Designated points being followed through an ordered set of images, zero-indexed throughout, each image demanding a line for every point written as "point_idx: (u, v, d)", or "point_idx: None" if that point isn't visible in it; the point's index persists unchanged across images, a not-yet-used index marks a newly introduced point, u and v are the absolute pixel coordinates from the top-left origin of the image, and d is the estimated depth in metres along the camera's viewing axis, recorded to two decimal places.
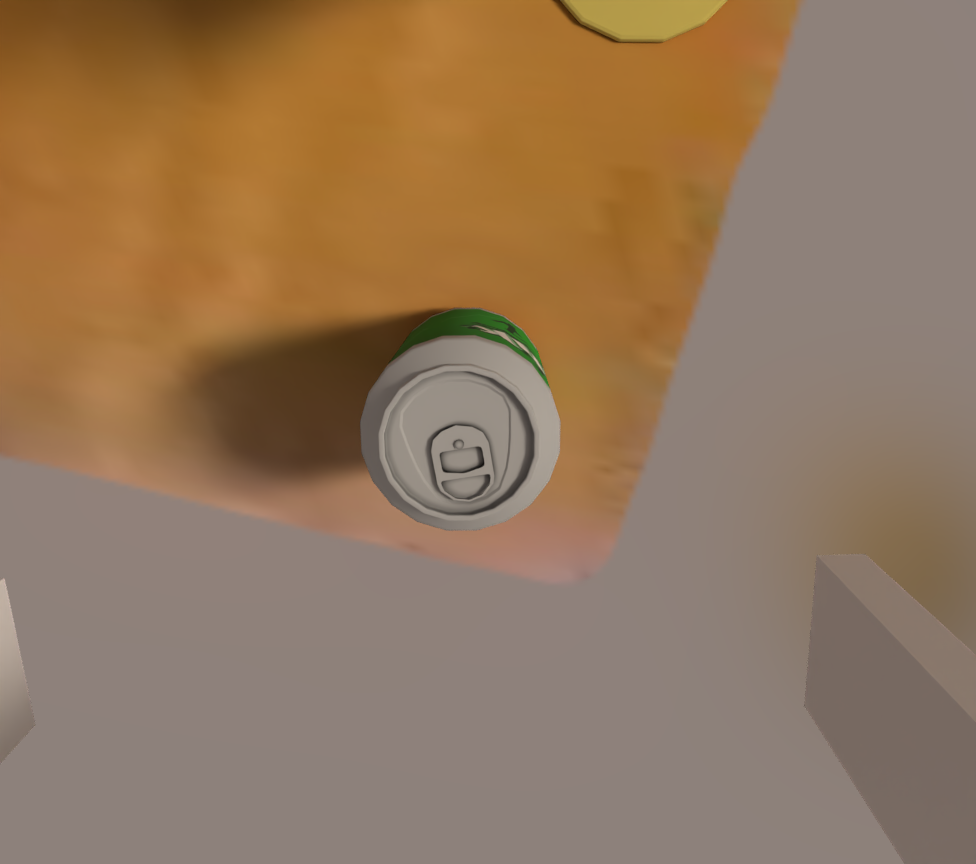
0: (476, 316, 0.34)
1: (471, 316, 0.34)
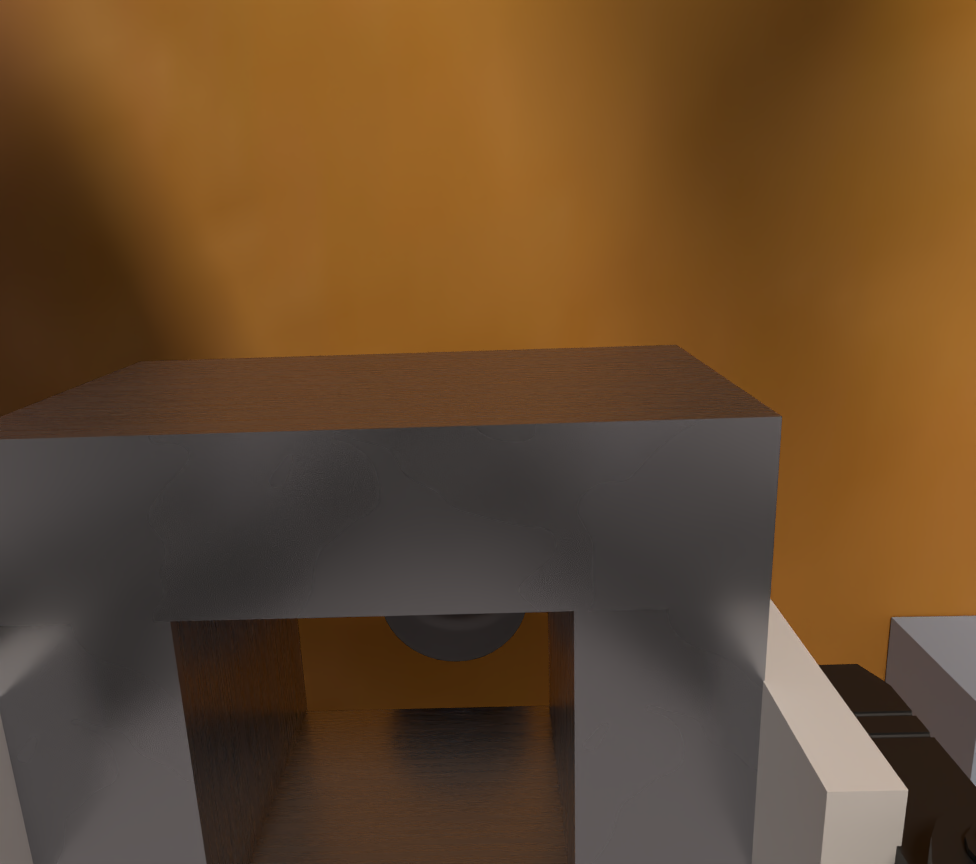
0: None
1: None
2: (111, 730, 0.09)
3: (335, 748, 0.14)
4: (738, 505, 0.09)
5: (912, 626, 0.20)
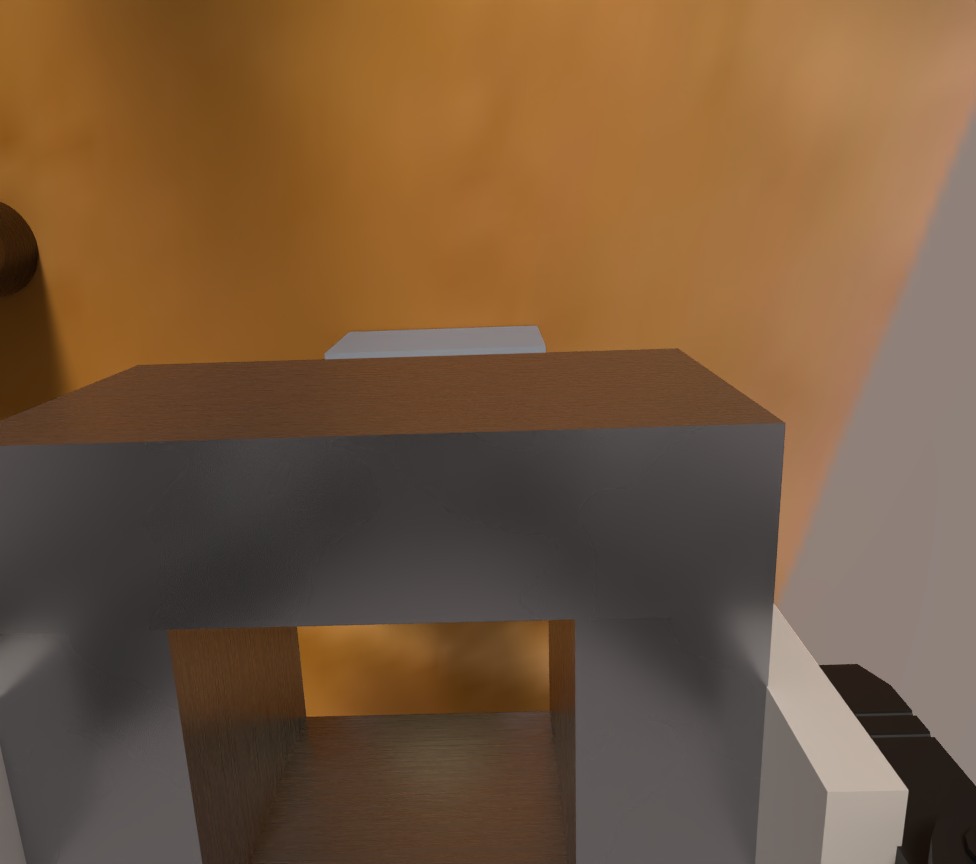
0: None
1: None
2: (107, 739, 0.09)
3: (333, 754, 0.14)
4: (741, 512, 0.08)
5: (355, 334, 0.25)
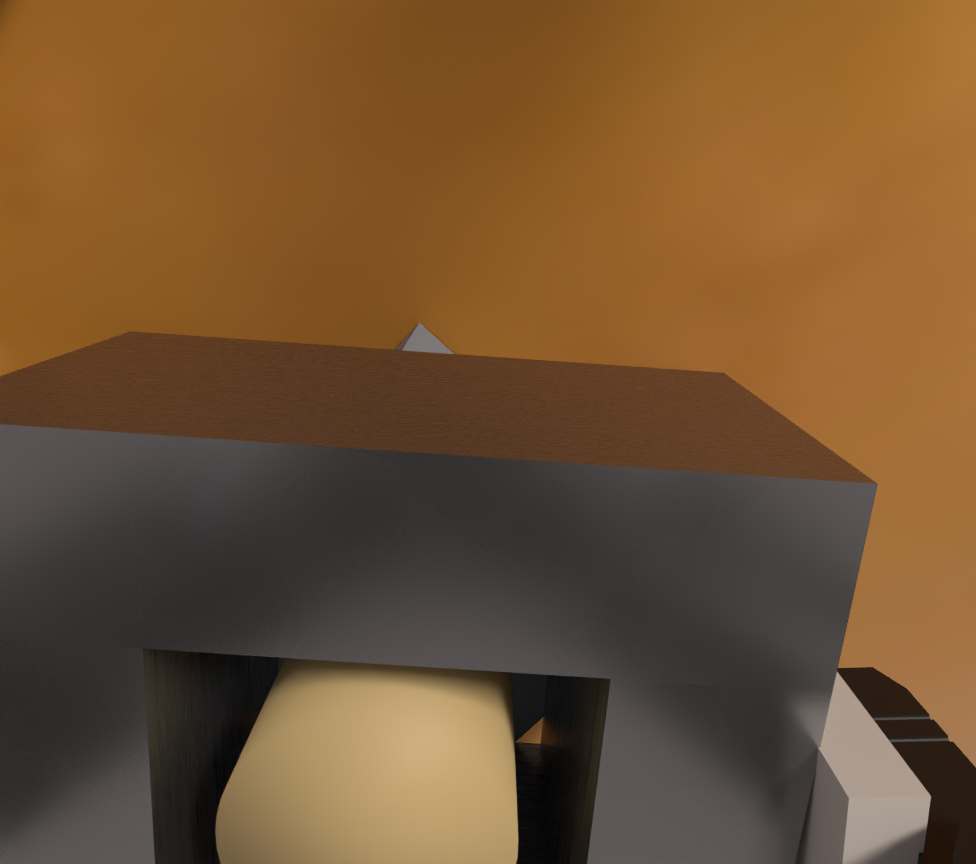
0: None
1: None
2: (61, 763, 0.08)
3: None
4: (813, 578, 0.07)
5: (427, 336, 0.15)
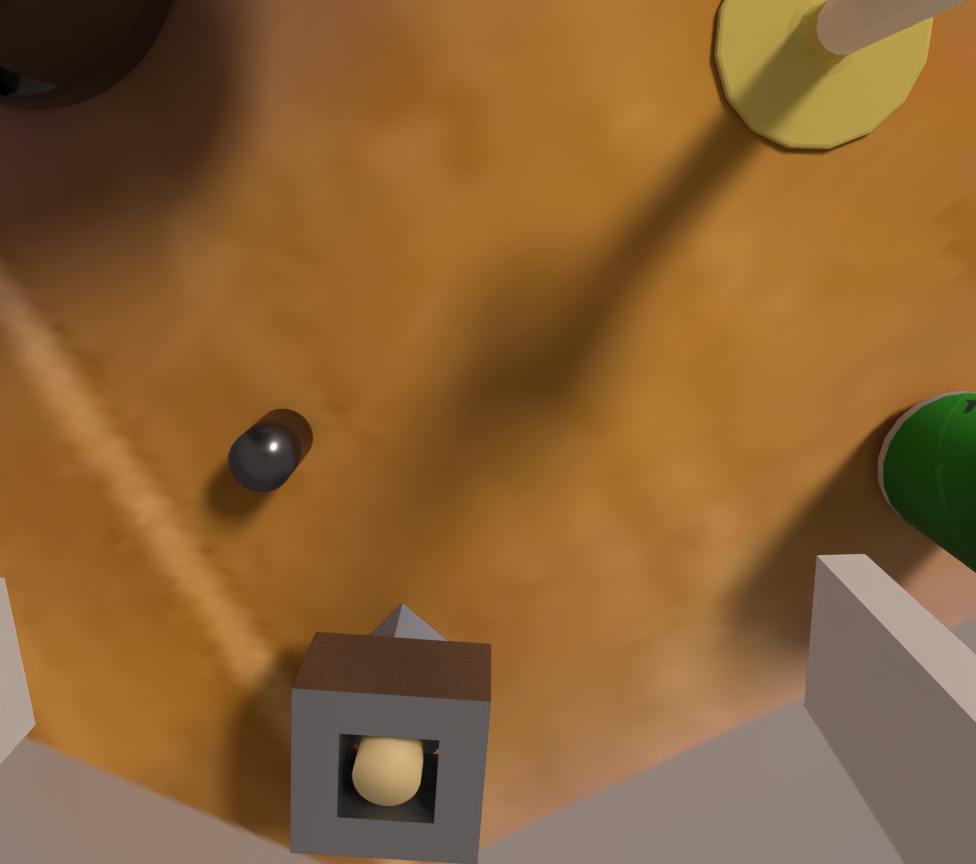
0: (954, 421, 0.37)
1: (950, 424, 0.37)
2: (319, 758, 0.37)
3: None
4: (480, 719, 0.36)
5: (405, 610, 0.44)
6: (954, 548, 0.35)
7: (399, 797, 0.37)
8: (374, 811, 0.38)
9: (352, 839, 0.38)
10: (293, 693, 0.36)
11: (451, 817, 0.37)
